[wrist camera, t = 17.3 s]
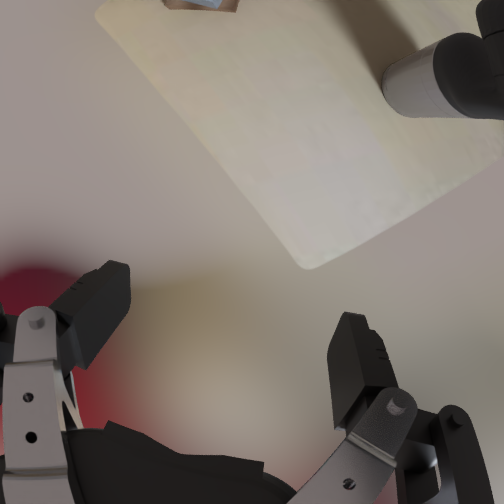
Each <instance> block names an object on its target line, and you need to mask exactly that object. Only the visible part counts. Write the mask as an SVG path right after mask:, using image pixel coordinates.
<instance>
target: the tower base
mask: <svg viewBox="0 0 504 504" xmlns="http://www.w3.org/2000/svg"><path fill="white" fill-rule="evenodd" d="M238 3H239V0H222V2H221V4H220V5H219V7H218V9H215V8H211V7H207V6H203V5H200V4H195V3H191V2H187V1H182V0H166V2H165V6H166V7H167V8H169V9H189V10H211V11H223V12H234V13H236V10H237V7H238Z"/></svg>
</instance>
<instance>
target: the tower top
mask: <svg viewBox="0 0 504 504" xmlns="http://www.w3.org/2000/svg"><path fill="white" fill-rule="evenodd" d="M182 1H187V2H191V3H195V4H200V5H203V6H207V7H211V8H215V9H218V7H219V5H220V4H221V2H222V0H182Z"/></svg>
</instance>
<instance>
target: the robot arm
mask: <svg viewBox="0 0 504 504" xmlns="http://www.w3.org/2000/svg"><path fill="white" fill-rule="evenodd" d="M476 18H477V22H478V26H479V29H480V32H481V36H482V38H480V37H478V36H476V35H474V34H470V33H456V34H453V35H450V36H448V37H446V38H444V39H441V40H439V41H437V42H435V43H433V44H431V45H429V46H427V47H425V48H423V49H421V50H419V51H417V52H415V53H413V54H411V55H409V56H407V57H405V58H403V59H401V60H399V61H397V62H396V63H394V64H392V65H390V66H389V67H388V68H387V69H386V71H385V72H384V74H383V78H382V90H383V94H384V97H385V98H386V100H387V102H388V104H389V105H390V106H391V107H392V108H393V109H394V110H395V111H396V112H398V113H399V114H401V115H403V116H406V117H412V118H419V117H422V118H424V117H439V118H475V119H497V120H504V0H482V1H481V2H479V4H478V5H477V7H476ZM130 304H131V290H130V268H129V266H128V265H127V264H124V263H120V262H117V261H113V260H109V261H107V262H106V263H105V264H104V265H103V266H102V267H101V268H99V269H98V270H97V269H95V270H93V271H91V272H88V273H86V274H84V275H83V276H82V277H81V278H80V279H79V280H77V282H76V283H74V284H73V285H72V286H71V287H70V289H67V290H66V291H65V292H64V293H63V294H62V295H61V296H60V297H59V298H57V299H56V300H55V301H54V302H53V303H52V304H51V305H50V306H49V307H48V308H47V307H43V306H37V307H32V308H29V309H27V310H25V311H24V312H23V313H22V314H21V315H20V316H15V315H9V314H5V313H4V310H3V306H2V304H1V302H0V405H1V404H2V402H3V439H4V451H5V454H4V455H1V456H0V504H373V503H374V501H375V500H376V498H377V496H378V495H379V493H380V492H381V491H382V489H383V487H384V486H385V484H386V482H387V481H388V479H389V477H390V476H391V474H392V473H393V471H394V469H395V475H396V484H397V496H398V504H494V499H493V495H492V491H491V486H490V482H489V478H488V474H487V470H486V467H485V463H484V459H483V456H482V452H481V449H480V446H479V442H478V439H477V436H476V433H475V430H474V427H473V424H472V422H471V419H470V417H469V416H468V414H467V413H466V412H465V411H464V410H463V409H462V408H460V407H458V406H455V405H447V406H445V407H443V408H442V409H441V410H440V411H439V413H438V414H435V413H431V412H427V411H424V410H420V409H418V408H417V404H416V402H415V400H414V398H413V397H412V396H411V395H410V394H409V393H407V392H406V391H404V390H402V389H400V388H399V387H398V384H397V381H396V377H395V374H394V371H393V368H392V365H391V363H390V360H389V357H388V354H387V352H386V348H385V345H384V343H383V340H382V338H381V337H380V336H379V335H378V334H377V333H376V331H375V330H370V329H369V327H368V323H367V320H366V317H365V316H364V315H361V314H356V313H350V312H344V313H343V314H342V316H341V318H340V321H339V323H338V325H337V328H336V330H335V332H334V335H333V337H332V339H331V342H330V344H329V348H328V353H327V363H328V371H329V380H330V389H331V399H332V409H333V420H334V430H345V431H346V438H345V439H344V440H343V441H342V443H341V444H340V445H339V446H338V448H337V449H336V450H335V451H334V452H333V453H332V455H331V456H330V457H329V458H328V459H327V460H326V462H325V463H324V464H323V465H322V466H321V467H320V468H319V469H318V470H317V472H316V473H315V474H314V475H313V476H312V477H311V478H310V479H309V480H308V481H307V482H306V483H305V484H304V485H303V486H302V487H301V488H300V489H299V490H298V491H297V492H296V491H295V490H294V489H293V488H292V487H291V486H289V485H288V484H287V483H285V482H284V481H282V480H280V479H279V478H277V477H275V476H272V475H270V474H268V473H265V472H263V468H264V462H261V461H254V460H247V459H241V458H236V457H230V456H225V455H186V454H180V453H177V452H175V451H173V450H171V449H169V448H168V447H166V446H164V445H162V444H160V443H159V442H157V441H155V440H153V439H152V438H150V437H148V436H147V435H145V434H143V433H141V432H138V431H135V430H132V429H129V428H127V427H124V426H122V425H119V424H116V423H114V422H111V421H109V420H108V422H107V424H106V426H105V428H104V429H98V428H83V425H82V422H81V419H80V416H79V410H78V405H77V400H76V394H75V388H74V381H73V375H72V372H71V370H72V369H73V368H74V366H78V367H80V368H82V369H84V370H86V369H87V368H88V367H89V365H90V364H91V363H92V361H93V360H94V358H95V357H96V355H97V354H98V353H99V351H100V349H101V348H102V347H103V346H104V344H105V343H106V342H107V340H108V339H109V337H110V336H111V335H112V333H113V332H114V331H115V329H116V328H117V327H118V325H119V324H120V322H121V321H122V320H123V319H124V317H125V316H126V314H127V313H128V311H129V308H130ZM437 463H438V467H439V472H440V477H441V488H440V491H439V488H438V482H437V477H436V471H435V465H436V464H437Z"/></svg>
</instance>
